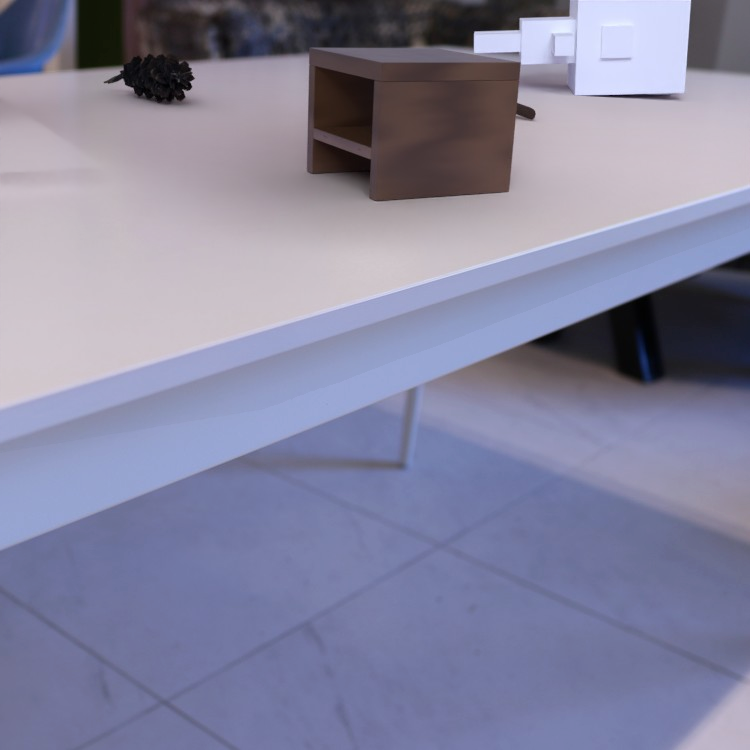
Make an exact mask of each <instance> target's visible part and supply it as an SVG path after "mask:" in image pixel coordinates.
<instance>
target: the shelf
mask: <svg viewBox="0 0 750 750" xmlns="http://www.w3.org/2000/svg"><path fill="white" fill-rule="evenodd" d="M308 50H309V52H308V53H309V54H308V59H309V60H308V95H307V96H308V98H307V99H308V100H307V108H308V109H307V139H306V140H307V142H306V143H307V144H306V146H307V147H306V172H308V173H311V174H327V173H344V172H345V173H346V172H360V171H361V172H362V171H363V172H364V171H369V172H370V174H369V196H368V197H369V199H371V200H373V201H376V202H381V201H393V200H394V201H396V200H409V199H422V198H423V199H424V198H436V197H437V198H438V197H449V196H452V197H453V196H465V195H479V194H493V193H494V194H495V193H505V192H506V193H507V192H508V193H509V192H510V186H511V175H512V174H511V173H512V164H513V150H514V144H515V143H514V142H515V131H516V122H517V121H516V119H517V114H516V110H517V103H518V98H519V86H520V78H521V77H520V74H521V66H522V65H521V63H520V61H514V60H509V59H502V58H496V57H492V56H491V57H490V56H486V55H480V54H475V53H473V54H472V53H467V52H462V51H455V50H450V49H444V48H438V47H437V48H436V47H434V48H433V47H309V48H308Z"/></svg>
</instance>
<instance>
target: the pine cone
mask: <svg viewBox="0 0 750 750" xmlns="http://www.w3.org/2000/svg"><path fill="white" fill-rule="evenodd" d="M122 65H123V66H122V67H123V68H122V69H121V70H119V74H117V75H114V76H112V77H110V78H109V79H107V80H105V81H103V84H108V85H109V84H110V85H111V84H115V83H118V82H119V81H121V80H123V82H124V86H126V87H128V88H132V89H133V92H134V94H135V95H136V96H137V97H138V98H140V97H142V96H145V99H147V100H151V99H153V98H154V99H155V100H156V102H157V103H158V104H159V103H162V102H163V101H166V102H168V104H171V103H172V102H173V101H174V100H176V101H178V102H182V101H183V100H184V99H186V98H187V96H186V94H185V92H189V91H191V90H192V89H193V84H192V83H191V82H192V81H194V80H196V78H195V76H193V71H192V70H193V68H192V67H190V64H189V63H188V61H186V60H183V61H182V62H180V61H179V59H178V57H177V56H175V55H174V54H173V53H172V52H170V53H168V54H167V55H166V56H165V55H164V54H163V53H159V54H157V56H156V57H155V56H154V55H153V54H151V53H148V54H147V55H146V56H144V58H141V56H140V54H138V55H137V56H133V57H132V58H131V60H130V62H126V63H123V64H122Z"/></svg>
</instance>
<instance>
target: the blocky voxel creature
mask: <svg viewBox="0 0 750 750" xmlns="http://www.w3.org/2000/svg"><path fill="white" fill-rule="evenodd" d="M691 8H692V0H569V13H568V14H569V15H568V16H546V17H545V16H544V17H541V16H540V17H520V18H519V25H518V26H519V27H518V29H515V30H511V29H509V30H480V31H479V30H478V31H477V30H476V31H473V32H474V33H473V54H491V53H492V54H494V53H496V54H497V53H518V60H519V62H520V63H521V66H522V65H556V64H558V65H559V64H567V78H566V79H567V80H566V81H567V83H566V85H567V86H568V88H569V89H570V91H571V92H572V93H573V95H574V96H610V95H613V96H615V95H617V96H619V95H646V96H668V95H669V96H670V95H672V94H685V91H686V76H687V64H688V51H689V48H688V47H689V36H690V35H689V34H690V21H691Z"/></svg>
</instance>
